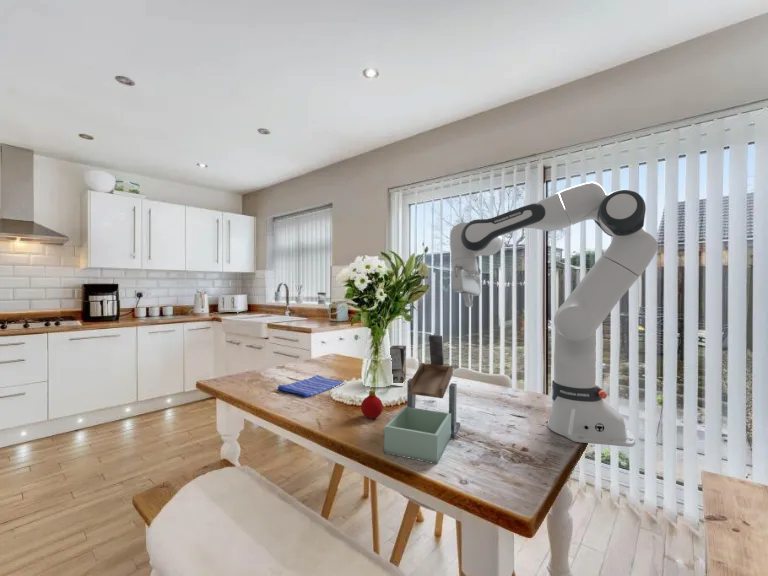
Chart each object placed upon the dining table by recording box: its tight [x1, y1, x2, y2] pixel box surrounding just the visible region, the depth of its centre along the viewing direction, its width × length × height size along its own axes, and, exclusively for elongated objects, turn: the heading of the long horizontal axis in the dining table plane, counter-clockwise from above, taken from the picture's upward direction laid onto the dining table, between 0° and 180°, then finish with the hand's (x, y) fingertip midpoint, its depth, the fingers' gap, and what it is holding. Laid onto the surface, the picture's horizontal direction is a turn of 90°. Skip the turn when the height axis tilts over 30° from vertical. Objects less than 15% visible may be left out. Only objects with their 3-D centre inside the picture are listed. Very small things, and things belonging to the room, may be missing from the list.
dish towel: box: [277, 374, 345, 399], centre depth 149 cm, size 17×24×3 cm
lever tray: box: [408, 334, 454, 399], centre depth 107 cm, size 10×15×12 cm, turn 157°
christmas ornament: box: [360, 387, 384, 419], centre depth 116 cm, size 7×7×10 cm
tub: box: [383, 406, 452, 464], centre depth 97 cm, size 14×16×7 cm
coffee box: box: [389, 345, 407, 383], centre depth 155 cm, size 9×6×16 cm
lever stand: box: [406, 378, 461, 439], centre depth 108 cm, size 16×9×14 cm, turn 67°
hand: (468, 306), depth 125 cm, fingers closed
